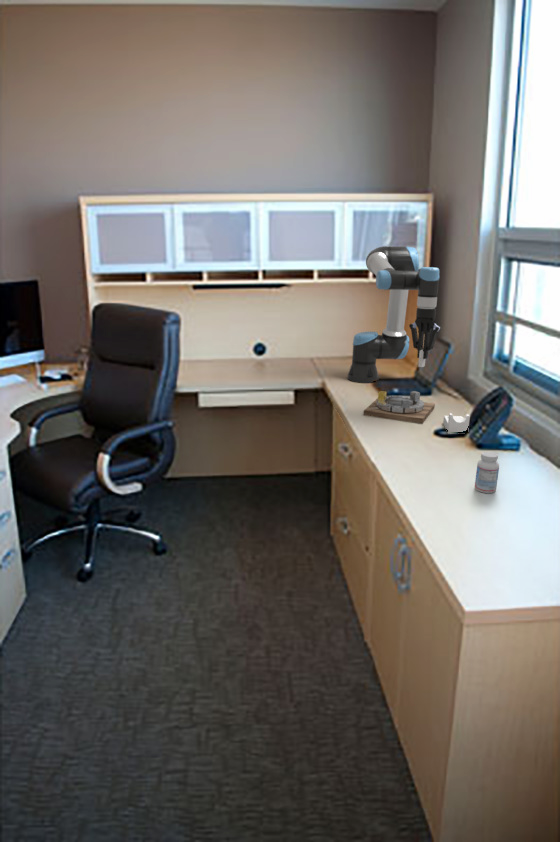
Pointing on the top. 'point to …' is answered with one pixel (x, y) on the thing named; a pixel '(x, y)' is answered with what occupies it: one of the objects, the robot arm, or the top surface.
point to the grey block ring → (405, 403)
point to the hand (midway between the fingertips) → (421, 366)
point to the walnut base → (410, 417)
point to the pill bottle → (487, 473)
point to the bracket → (456, 423)
